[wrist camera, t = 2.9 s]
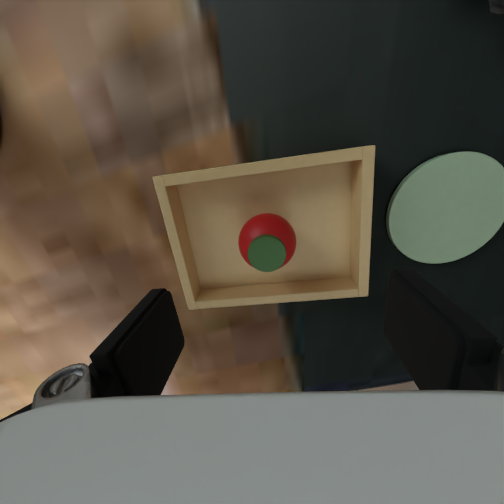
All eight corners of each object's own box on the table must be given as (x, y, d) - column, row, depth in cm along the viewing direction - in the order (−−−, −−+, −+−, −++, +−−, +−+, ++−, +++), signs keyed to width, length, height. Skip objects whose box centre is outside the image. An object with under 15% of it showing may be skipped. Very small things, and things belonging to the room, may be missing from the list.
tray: (196, 293, 24) (188, 310, 22) (167, 174, 20) (151, 176, 17) (356, 280, 22) (368, 296, 20) (360, 146, 18) (375, 144, 16)
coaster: (382, 265, 22) (385, 268, 21) (389, 160, 18) (393, 160, 18) (491, 255, 21) (497, 258, 20) (518, 143, 17) (527, 142, 17)
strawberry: (245, 258, 22) (239, 286, 17) (238, 210, 20) (228, 226, 15) (294, 253, 21) (302, 281, 16) (291, 203, 20) (298, 218, 15)
